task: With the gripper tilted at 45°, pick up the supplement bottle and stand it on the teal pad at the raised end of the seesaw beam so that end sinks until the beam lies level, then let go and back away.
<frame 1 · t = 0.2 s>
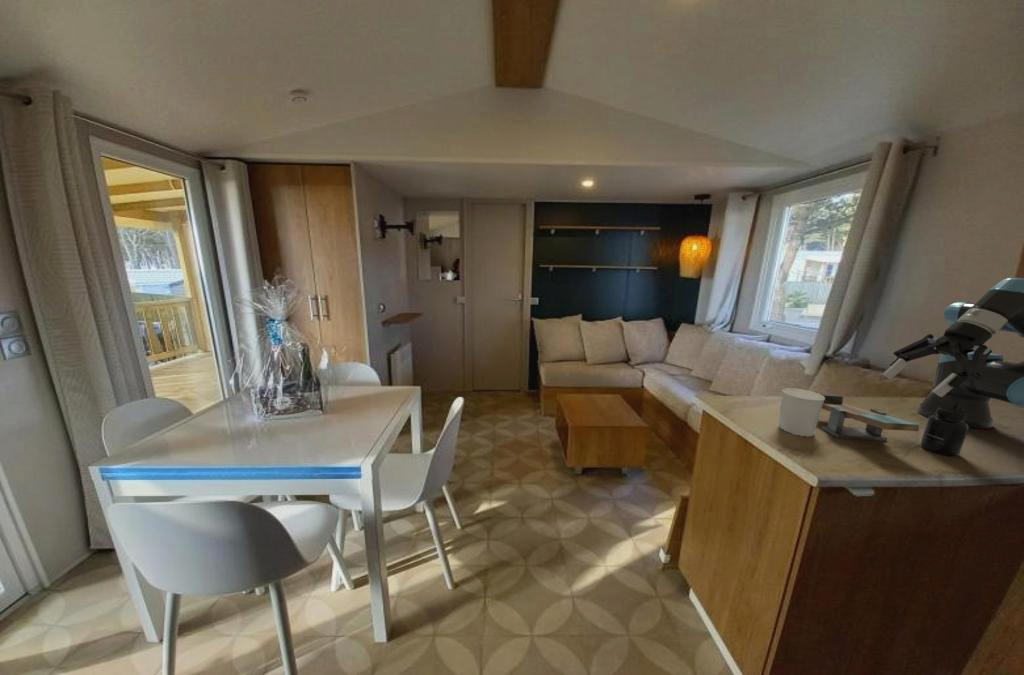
hand: (910, 384, 99), 15 cm above the worktop, tool tilted 35°, fingers open, 13 cm apart
beam: (857, 410, 99), point 8 cm above the worktop, hinge at 8.0°
white cylinder: (795, 431, 103), on the worktop
supplement bottle: (939, 451, 92), on the worktop
stand: (852, 434, 100), on the worktop
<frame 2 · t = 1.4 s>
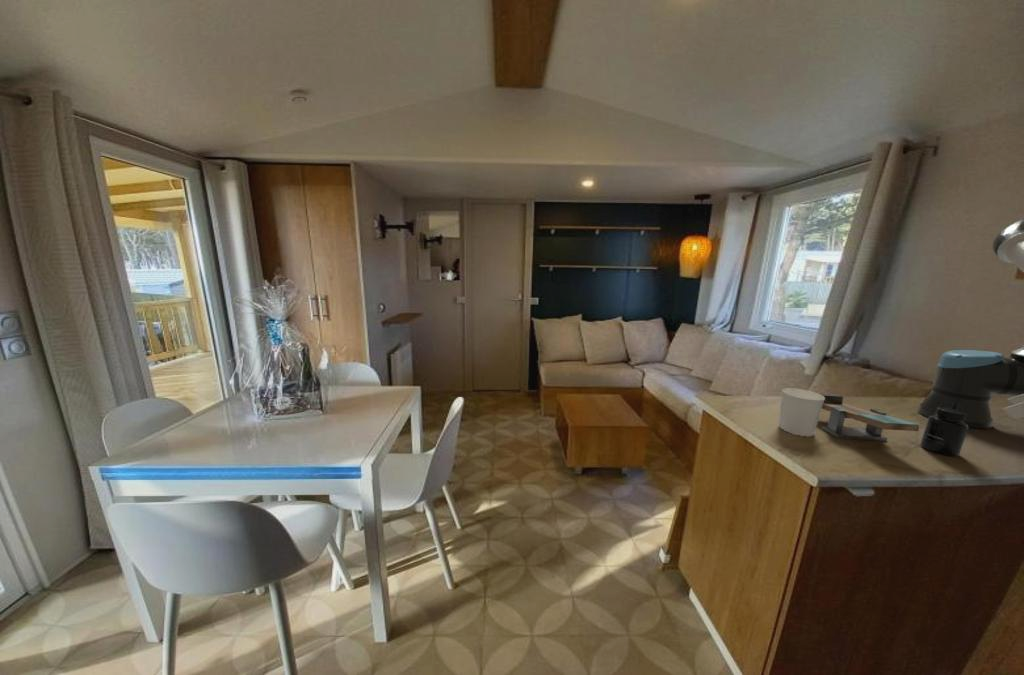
hand: (1010, 408, 82), 15 cm above the worktop, tool tilted 45°, fingers open, 13 cm apart
nothing on the worktop moved.
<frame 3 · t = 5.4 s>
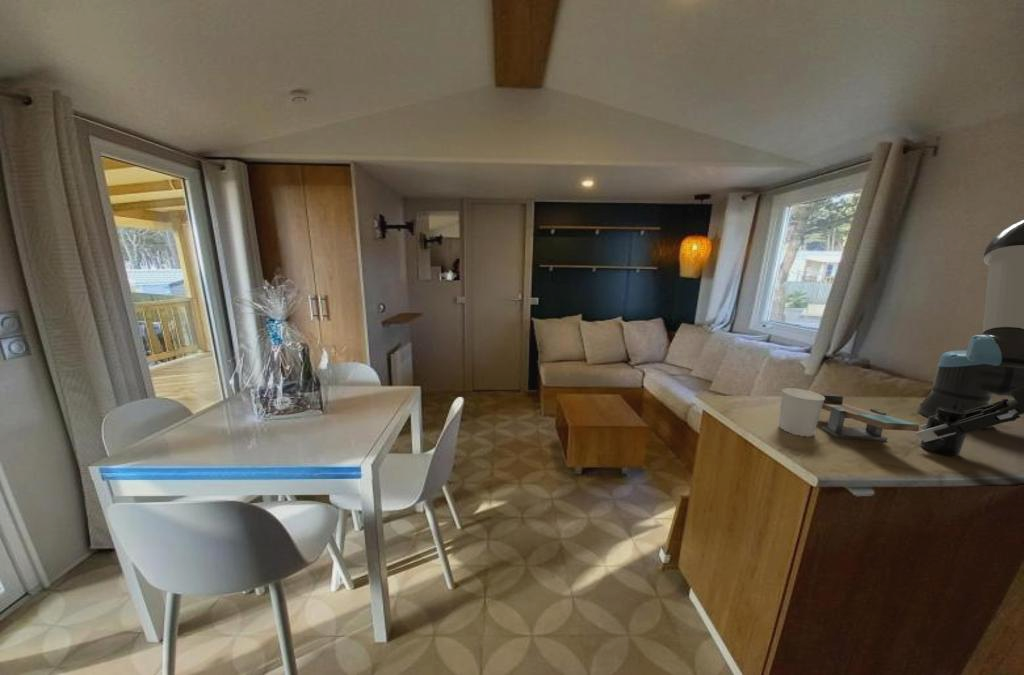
hand: (922, 433, 94), 3 cm above the worktop, tool tilted 45°, fingers closed on supplement bottle, 7 cm apart
supplement bottle: (939, 451, 92), on the worktop, touching gripper
everything else where it was.
when the fingers open (11 cm above the worktop, at t = 9.7 s): supplement bottle stays where it is, resting on beam.
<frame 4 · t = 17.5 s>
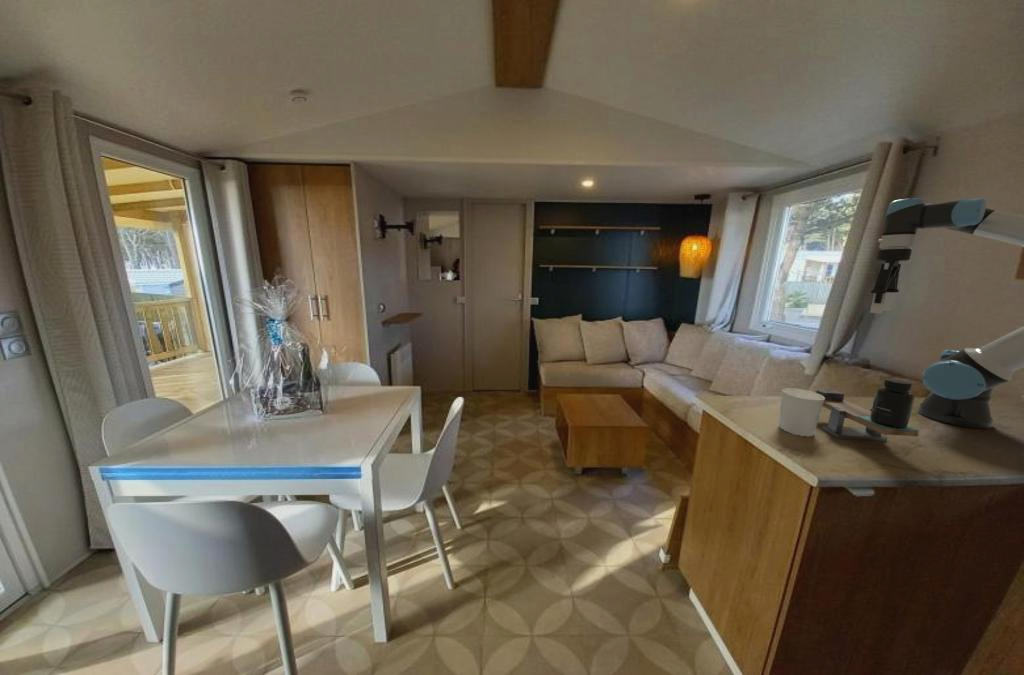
hand: (880, 312, 115), 35 cm above the worktop, tool pointing down, fingers open, 13 cm apart
beam: (858, 410, 99), point 8 cm above the worktop, hinge at 1.6°, touching supplement bottle
supplement bottle: (887, 424, 90), point 8 cm above the worktop, touching beam
everything else where it was.
at the end: beam at +2° (first picture: +8°); supplement bottle inside the target area on the beam (0.5 cm from its centre), point 1.8 cm above the beam's base; supplement bottle tilted 2° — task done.
